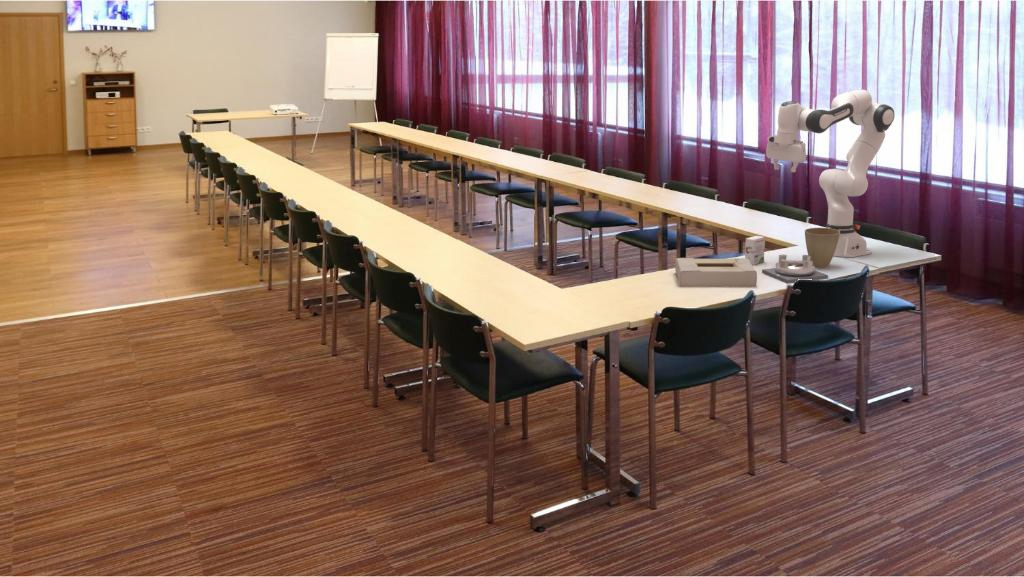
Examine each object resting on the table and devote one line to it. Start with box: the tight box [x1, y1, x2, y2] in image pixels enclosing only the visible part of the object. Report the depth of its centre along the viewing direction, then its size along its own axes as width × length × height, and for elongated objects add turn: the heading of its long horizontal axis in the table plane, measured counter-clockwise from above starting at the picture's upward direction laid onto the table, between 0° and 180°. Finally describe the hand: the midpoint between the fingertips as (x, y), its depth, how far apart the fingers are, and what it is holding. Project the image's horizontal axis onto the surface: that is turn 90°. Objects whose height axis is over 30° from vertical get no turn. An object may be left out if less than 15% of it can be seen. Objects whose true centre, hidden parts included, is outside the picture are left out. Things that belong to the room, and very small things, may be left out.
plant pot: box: [804, 227, 840, 269], centre depth 423 cm, size 15×15×16 cm
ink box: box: [744, 235, 766, 266], centre depth 432 cm, size 8×5×12 cm, turn 131°
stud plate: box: [761, 267, 829, 284], centre depth 410 cm, size 20×19×2 cm
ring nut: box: [775, 253, 816, 276], centre depth 409 cm, size 16×16×6 cm
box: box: [674, 257, 758, 287], centre depth 406 cm, size 23×8×32 cm
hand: (784, 170), depth 421 cm, fingers open, 8 cm apart
